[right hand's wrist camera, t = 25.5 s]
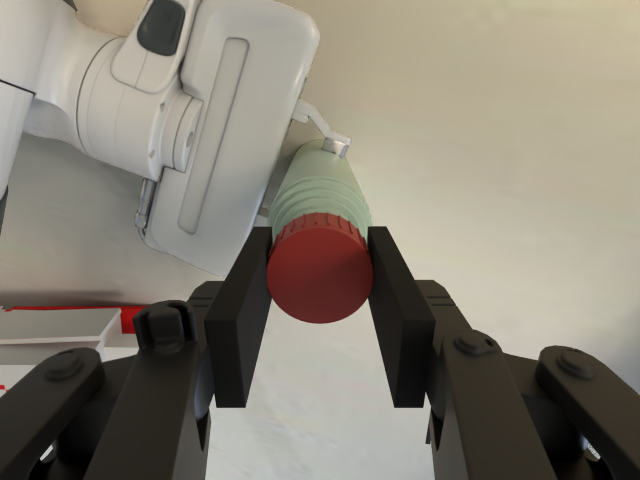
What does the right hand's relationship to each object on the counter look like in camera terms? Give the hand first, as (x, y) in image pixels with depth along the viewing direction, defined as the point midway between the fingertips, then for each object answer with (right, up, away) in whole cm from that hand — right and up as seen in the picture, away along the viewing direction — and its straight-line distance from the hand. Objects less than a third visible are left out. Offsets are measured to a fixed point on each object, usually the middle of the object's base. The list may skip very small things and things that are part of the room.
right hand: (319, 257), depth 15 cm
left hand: (+1, +5, +13) cm, 14 cm away
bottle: (0, +8, +19) cm, 21 cm away
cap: (0, -1, -1) cm, 2 cm away
